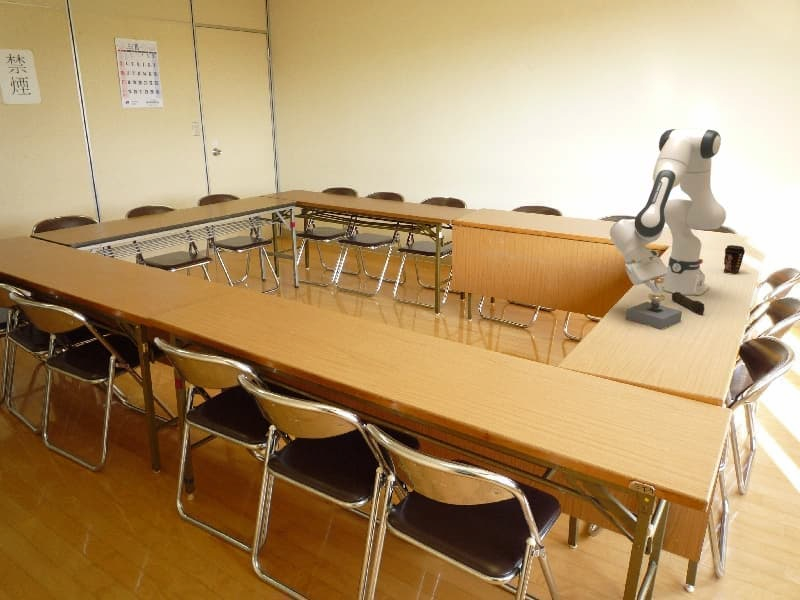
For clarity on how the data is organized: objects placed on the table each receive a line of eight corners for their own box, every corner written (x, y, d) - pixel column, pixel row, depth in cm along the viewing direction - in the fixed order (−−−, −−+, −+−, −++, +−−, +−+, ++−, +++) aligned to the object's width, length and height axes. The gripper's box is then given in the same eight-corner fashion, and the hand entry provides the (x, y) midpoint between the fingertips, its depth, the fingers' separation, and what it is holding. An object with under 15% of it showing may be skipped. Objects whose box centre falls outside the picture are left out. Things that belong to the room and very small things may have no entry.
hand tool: (670, 300, 243) (672, 290, 242) (679, 300, 243) (681, 289, 242) (695, 316, 225) (697, 305, 224) (705, 316, 226) (707, 305, 224)
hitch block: (645, 311, 229) (647, 301, 228) (680, 321, 219) (682, 311, 218) (625, 318, 221) (627, 308, 220) (661, 329, 211) (662, 319, 210)
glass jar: (651, 303, 222) (656, 275, 219) (665, 307, 218) (670, 279, 215) (643, 306, 219) (648, 278, 215) (657, 310, 215) (662, 281, 211)
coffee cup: (725, 269, 290) (730, 243, 286) (743, 273, 284) (748, 247, 280) (717, 272, 284) (722, 246, 280) (735, 276, 278) (741, 249, 274)
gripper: (629, 258, 211) (651, 290, 207) (659, 250, 224) (679, 281, 219) (617, 267, 216) (637, 299, 212) (646, 259, 228) (666, 289, 224)
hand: (659, 290), depth 216 cm, fingers closed on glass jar, 3 cm apart
